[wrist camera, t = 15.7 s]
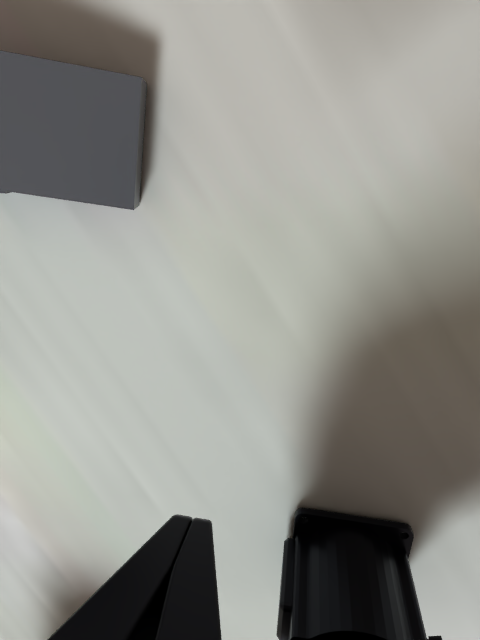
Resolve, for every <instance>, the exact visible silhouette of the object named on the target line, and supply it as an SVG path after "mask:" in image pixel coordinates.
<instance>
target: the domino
mask: <svg viewBox="0 0 480 640" xmlns="http://www.w3.org/2000/svg"><path fill="white" fill-rule="evenodd" d="M146 93H147V83H146V81H145V80H144V79H143V78H142V77H137V76H132V75H127V74H122V73H116V72H111V71H106V70H100V69H95V68H90V67H85V66H79V65H74V64H69V63H64V62H58V61H53V60H48V59H42V58H37V57H32V56H27V55H21V54H16V53H11V52H6V51H0V190H2V191H9V192H16V193H23V194H29V195H36V196H43V197H50V198H57V199H63V200H70V201H77V202H84V203H91V204H97V205H104V206H111V207H118V208H124V209H131V210H134V209H135V208H136V207H138V206H139V202H140V187H141V171H142V155H143V140H144V124H145V108H146Z"/></svg>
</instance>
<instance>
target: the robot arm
mask: <svg viewBox="0 0 480 640" xmlns="http://www.w3.org/2000/svg"><path fill="white" fill-rule="evenodd" d="M302 517H306V518H302ZM402 532H405V533H402ZM413 538H414V535H413V531H412V528H411V526H409V525H408V524H405V523H400V522H393V521H387V520H380V519H373V518H367V517H360V516H354V515H347V514H340V513H334V512H327V511H321V510H314V509H307V508H300V509H298V510H297V511H296V513H295V520H294V530H293V539H292V538H288V539H286V540H285V541H284V552H283V563H282V575H281V587H280V600H279V613H278V625H277V637H278V638H279V640H442V637H441V636H428V637H429V639H427V638H426V633H425V629H424V625H423V621H422V616H421V612H420V608H419V603H418V599H417V595H416V591H415V586H414V582H413V578H412V574H411V569H410V565H409V561H408V558H409V554H410V550H411V546H412V542H413ZM48 640H221V629H220V617H219V604H218V592H217V580H216V568H215V556H214V544H213V532H212V523H211V521H210V520H206V519H201V518H194V519H192V518H191V517H189V516H183V515H174V516H172V517H171V518H170V519H169V520H168V521H167V522H166V523H165V524H164V525H163V526H162V527H161V528H160V529H159V530H158V531H157V532H156V533H155V534H154V535H153V536H152V537H151V538H150V539H149V540H148V541H147V542H146V543H145V544H144V545H143V546H142V547H141V548H140V549H139V550H138V551H137V552H136V553H135V554H134V555H133V556H132V557H131V558H130V559H129V560H128V561H127V562H126V563H125V564H124V565H123V566H122V567H121V568H120V569H119V570H118V571H117V572H116V573H115V574H114V575H113V576H112V577H111V578H109V579H108V580H107V581H106V582H105V583H104V584H103V585H102V586H101V587H100V588H99V589H98V590H97V591H96V592H95V593H94V594H93V595H92V596H91V597H90V598H89V599H88V600H87V601H86V602H85V603H84V604H83V605H82V606H81V607H80V608H79V609H78V610H77V611H76V612H75V613H74V614H73V615H72V616H71V617H70V618H69V619H68V620H67V621H66V622H65V623H64V624H63V625H62V626H61V627H60V628H59V629H58V630H57V631H56V632H55V633H54V634H53V635H52V636H51V637H50V638H49V639H48Z"/></svg>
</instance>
